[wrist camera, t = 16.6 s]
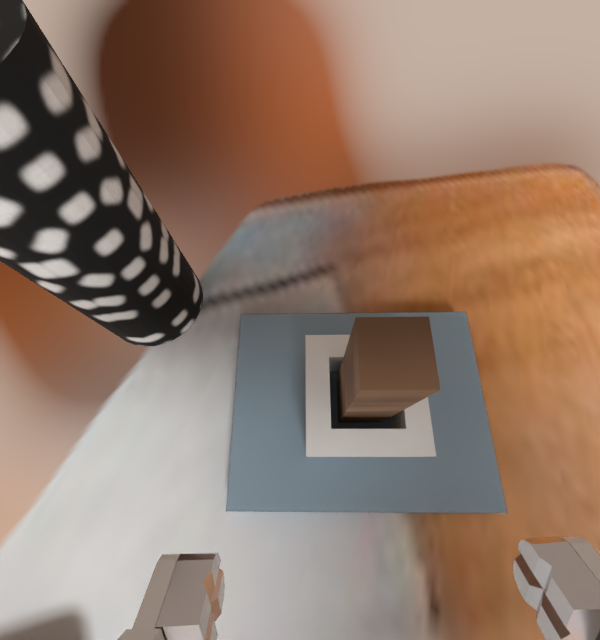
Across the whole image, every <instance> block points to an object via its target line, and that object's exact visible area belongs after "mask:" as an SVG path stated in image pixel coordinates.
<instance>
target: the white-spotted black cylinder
mask: <svg viewBox="0 0 600 640" xmlns="http://www.w3.org/2000/svg"><path fill="white" fill-rule="evenodd" d="M0 261H1V262H3V263H5V264H6V265H8V266H9V267H11V268H12V269H14V270H15V271H17V272H19V273H20V274H22V275H23V276H25V277H27V278H28V279H30V280H31V281H33V282H34V283H36V284H37V285H39V286H41V287H42V288H44V289H45V290H47V291H48V292H50V293H52V294H53V295H55V296H56V297H58V298H59V299H61V300H63V301H64V302H66V303H67V304H69V305H70V306H72V307H73V308H75V309H77V310H78V311H80V312H81V313H83V314H84V315H86V316H88V317H89V318H91V319H92V320H94V321H95V322H97V323H99V324H100V325H102V326H103V327H105V328H106V329H108V330H110V331H111V332H113V333H114V334H116V335H117V336H119V337H120V338H122V339H124V340H125V341H127V342H129V343H132V344H134V345H140V346H156V345H160V344H164V343H167V342H169V341H171V340H174V339H175V338H177V337H178V336H180V335H182V334H183V333H184V332H185V331H186V330H187V329H188V328H189V327H190V326H191V325H192V324H193V322H194V321H195V319H196V318H197V316H198V314H199V312H200V309H201V305H202V299H203V293H202V287H201V284H200V281H199V279H198V278H197V276H196V275H195V273H194V271H193V270H192V268H191V267H190V265H189V264H188V262H187V260H186V259H185V257H184V256H183V254H182V252H181V251H180V249H179V248H178V246H177V245H176V243H175V242H174V240H173V238H172V237H171V235H170V233H169V232H168V230H167V229H166V227H165V225H164V224H163V222H162V221H161V219H160V218H159V216H158V214H157V213H156V212H155V210H154V208H153V206H152V205H151V203H150V202H149V200H148V199H147V197H146V195H145V194H144V192H143V191H142V189H141V187H140V186H139V185H138V183H137V181H136V180H135V178H134V176H133V175H132V173H131V172H130V170H129V169H128V167H127V165H126V164H125V162H124V161H123V159H122V158H121V156H120V154H119V153H118V151H117V149H116V148H115V146H114V145H113V143H112V142H111V140H110V138H109V137H108V135H107V134H106V132H105V131H104V129H103V127H102V126H101V124H100V122H99V121H98V119H97V118H96V116H95V115H94V113H93V111H92V110H91V108H90V107H89V105H88V103H87V102H86V100H85V99H84V97H83V96H82V94H81V93H80V91H79V89H78V88H77V86H76V84H75V83H74V81H73V80H72V78H71V77H70V75H69V73H68V72H67V70H66V69H65V67H64V65H63V64H62V62H61V61H60V59H59V58H58V56H57V54H56V53H55V51H54V50H53V48H52V46H51V45H50V43H49V42H48V40H47V39H46V37H45V35H44V34H43V32H42V31H41V29H40V28H39V26H38V24H37V23H36V21H35V19H34V18H33V16H32V15H31V13H30V12H29V10H28V9H27V7H26V5H25V4H24V2H23V1H22V0H0Z"/></svg>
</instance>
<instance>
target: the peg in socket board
mask: <svg viewBox="0 0 600 640" xmlns="http://www.w3.org/2000/svg"><path fill="white" fill-rule="evenodd" d="M421 316H429V320H430V326H431V332H432V339H433V345H434V351H435V358H436V364H437V370H438V376H439V383H440V389H441V390H439V391H437V392H435V393H434V394H432V395H430V396H428V397H426V398H425V399H423V400H421V401H419V402H417V403H415V404H414V405H412V406H410V407H408V408H406V409H405V410H403V411H401V412H399V413H397V414H395V415H394V416H392V417H390V418H388V419H386V420H385V421H383V422H381V423H338V406H337V377H338V374H339V371H340V367H341V364H342V361H343V357H344V354H345V351H346V347H347V344H348V341H349V337H350V334H351V331H352V327H353V324H354V321H355V317H421ZM226 511H259V512H394V513H507V509H506V504H505V499H504V494H503V489H502V484H501V480H500V475H499V470H498V465H497V460H496V455H495V450H494V446H493V441H492V436H491V431H490V426H489V421H488V416H487V411H486V407H485V402H484V397H483V392H482V387H481V382H480V377H479V373H478V368H477V363H476V358H475V353H474V348H473V343H472V338H471V334H470V329H469V324H468V319H467V314H466V312H408V313H324V314H241V321H240V335H239V348H238V361H237V374H236V387H235V400H234V414H233V427H232V440H231V453H230V466H229V479H228V493H227V506H226Z"/></svg>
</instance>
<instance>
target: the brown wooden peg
mask: <svg viewBox="0 0 600 640" xmlns="http://www.w3.org/2000/svg"><path fill="white" fill-rule="evenodd" d="M439 390H441V389H440V383H439V376H438V370H437V364H436V358H435V351H434V345H433V339H432V332H431V326H430V320H429V316H421V317H355V321H354V324H353V327H352V331H351V334H350V337H349V341H348V344H347V347H346V351H345V354H344V357H343V361H342V364H341V367H340V371H339V374H338V377H337V406H338V423H381V422H383V421H385V420H386V419H388V418H390V417H392V416H394V415H395V414H397V413H399V412H401V411H403V410H405V409H406V408H408V407H410V406H412V405H414V404H415V403H417V402H419V401H421V400H423V399H425V398H426V397H428V396H430V395H432V394H434V393H435V392H437V391H439Z"/></svg>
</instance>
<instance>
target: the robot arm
mask: <svg viewBox="0 0 600 640" xmlns="http://www.w3.org/2000/svg"><path fill="white" fill-rule="evenodd" d="M518 549H519V551H520V553H521V554H520V555H519V556H517V557H516V558H515V559H514V563H513V572H514V578H515V581H516V584H517V586H518V589H519V591H520V593H521V595H522V597H523V599H524V600H525V601H526V602H527V603H528V604H529V605H530V606H531V607H533V608H534V609H535V610H536V622H537V624H538V626H539V628H540V630H541V632H542V633H543V635H544V637H545V639H546V640H600V555H599V554H598V553H597V552H596V550H595V549H594V548H593V547H592V545H591V544H590V543H589V542H588V541H587V540H585V539H584V538H583V537H578V536H574V537H548V538H533V539H523V540H521V541H520V542H519V545H518ZM220 561H221V560H220V556H219V553H196V554H166V555H162V556H161V557H160V559H159V560H158V562H157V564H156V567H155V569H154V572H153V575H152V577H151V580H150V583H149V585H148V588H147V591H146V594H145V596H144V599H143V602H142V604H141V607H140V610H139V612H138V615H137V618H136V620H135V623H134V626H133V628H132V629H128V630H126V631H125V632H124V633H123V634H122V635H121V636H120V637H119V638H118V640H217V635H218V634H217V630H216V625H215V621H216V620H217V618H218V617H219V616H220V614H221V612H222V606H223V600H224V588H225V584H224V574H223V571H222V570H221V569H219V566H220Z"/></svg>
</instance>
